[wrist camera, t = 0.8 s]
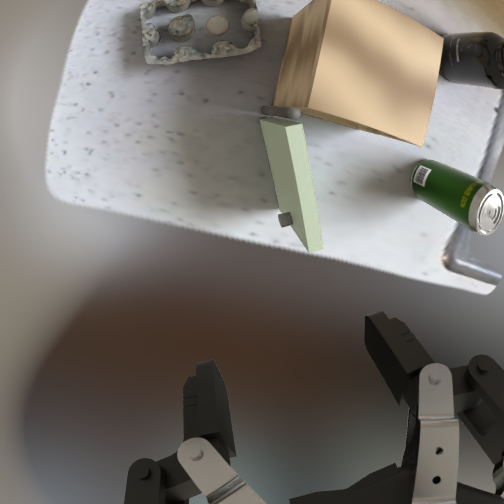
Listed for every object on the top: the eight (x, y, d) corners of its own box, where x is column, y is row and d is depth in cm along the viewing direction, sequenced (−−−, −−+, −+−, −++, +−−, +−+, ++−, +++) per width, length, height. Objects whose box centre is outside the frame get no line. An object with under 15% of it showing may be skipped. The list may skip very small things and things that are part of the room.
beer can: (403, 194, 34) (468, 234, 24) (414, 153, 32) (485, 181, 22) (432, 202, 36) (494, 240, 25) (443, 164, 33) (510, 194, 23)
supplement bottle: (424, 41, 26) (498, 35, 15) (455, 30, 25) (524, 27, 14) (445, 90, 29) (518, 101, 18) (473, 76, 28) (541, 85, 17)
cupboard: (282, 14, 24) (321, -23, 14) (378, 48, 26) (443, 38, 16) (260, 113, 28) (289, 118, 18) (358, 138, 31) (419, 158, 21)
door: (271, 117, 28) (302, 123, 19) (290, 207, 33) (323, 248, 24) (249, 122, 28) (270, 130, 19) (270, 212, 33) (296, 256, 24)
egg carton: (251, -6, 22) (259, -20, 19) (257, 59, 26) (266, 52, 22) (143, 6, 21) (136, -7, 18) (148, 72, 25) (140, 67, 21)
